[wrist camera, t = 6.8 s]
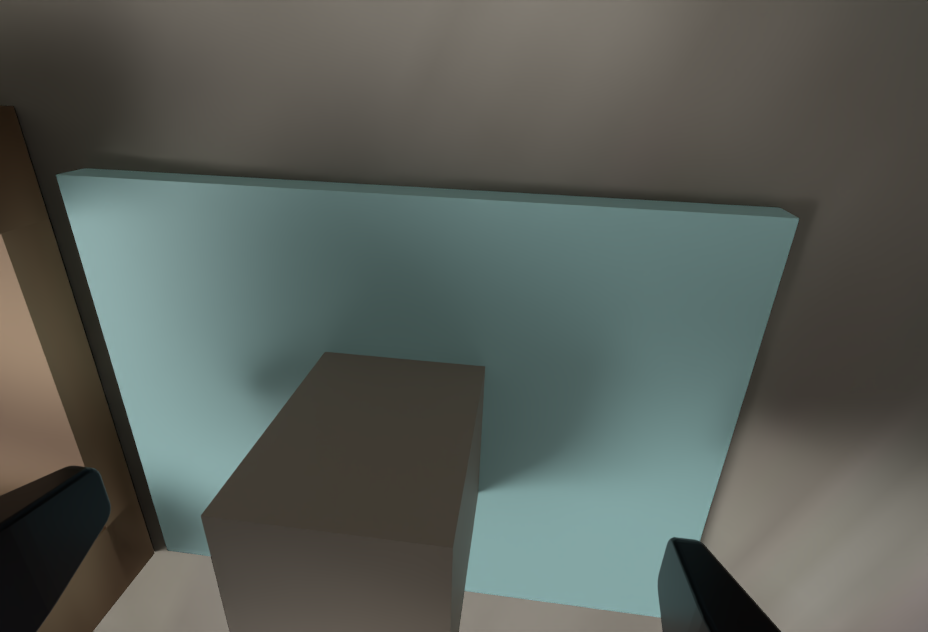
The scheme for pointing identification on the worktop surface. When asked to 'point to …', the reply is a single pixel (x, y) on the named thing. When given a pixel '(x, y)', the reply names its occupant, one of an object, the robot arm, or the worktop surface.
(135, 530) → the box
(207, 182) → the cover plate
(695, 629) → the robot arm
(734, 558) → the worktop surface
